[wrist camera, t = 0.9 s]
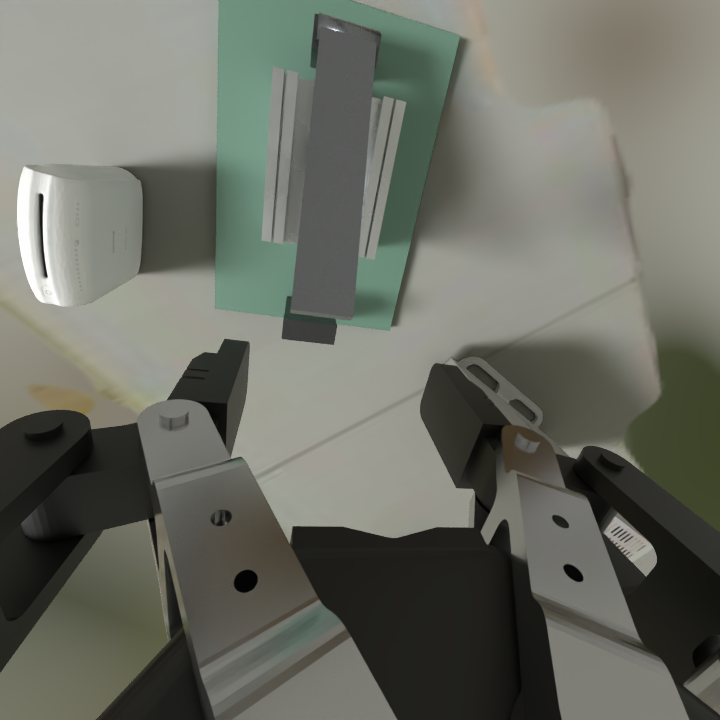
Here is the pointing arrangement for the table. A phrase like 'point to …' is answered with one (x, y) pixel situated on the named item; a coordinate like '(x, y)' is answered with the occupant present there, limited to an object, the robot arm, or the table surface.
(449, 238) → the table surface
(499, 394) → the network device
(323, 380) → the table surface
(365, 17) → the mainboard
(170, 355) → the table surface
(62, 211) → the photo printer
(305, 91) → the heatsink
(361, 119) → the grey flat bar
